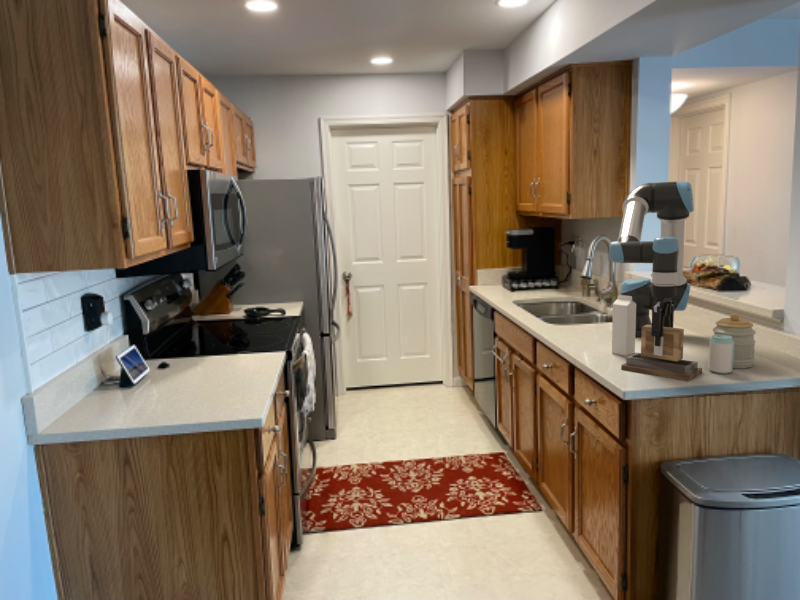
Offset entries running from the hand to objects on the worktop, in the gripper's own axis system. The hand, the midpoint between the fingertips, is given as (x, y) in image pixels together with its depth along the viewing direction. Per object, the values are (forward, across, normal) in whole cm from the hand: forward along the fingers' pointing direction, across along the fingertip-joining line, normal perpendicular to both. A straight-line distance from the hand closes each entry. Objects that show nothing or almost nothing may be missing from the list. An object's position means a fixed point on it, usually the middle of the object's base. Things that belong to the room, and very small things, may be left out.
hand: (661, 353), depth 198 cm
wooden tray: (+6, 0, 0) cm, 6 cm away
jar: (+6, -23, +15) cm, 28 cm away
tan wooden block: (+1, 0, 0) cm, 1 cm away
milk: (+6, -15, -20) cm, 26 cm away
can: (+6, -11, +15) cm, 20 cm away
